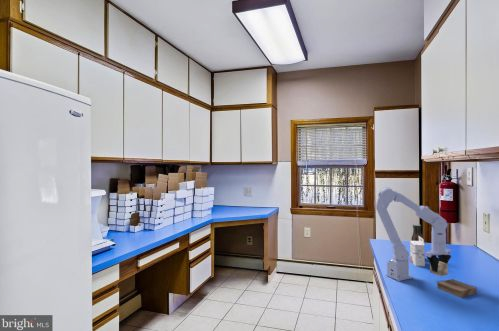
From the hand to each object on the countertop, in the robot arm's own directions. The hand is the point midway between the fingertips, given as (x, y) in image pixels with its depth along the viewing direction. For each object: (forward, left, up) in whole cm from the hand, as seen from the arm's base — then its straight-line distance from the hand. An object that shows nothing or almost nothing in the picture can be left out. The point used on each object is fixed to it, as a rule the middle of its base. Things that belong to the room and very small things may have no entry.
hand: (438, 270), depth 137 cm
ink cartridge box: (+12, +21, -5) cm, 25 cm away
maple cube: (0, 0, -2) cm, 2 cm away
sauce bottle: (+20, +27, -5) cm, 34 cm away
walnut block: (-3, -10, -6) cm, 12 cm away
